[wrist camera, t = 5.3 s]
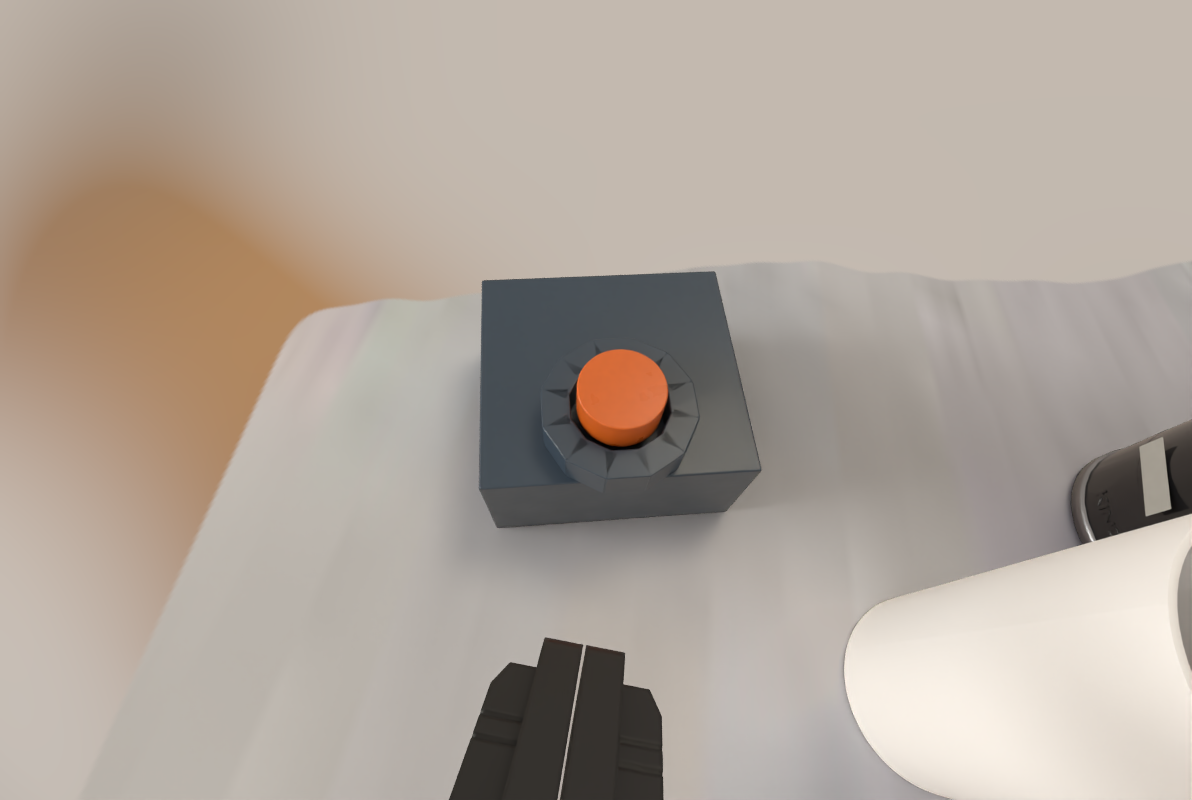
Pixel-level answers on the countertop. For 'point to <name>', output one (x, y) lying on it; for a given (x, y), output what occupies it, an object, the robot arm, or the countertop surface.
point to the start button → (621, 397)
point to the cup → (1038, 675)
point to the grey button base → (549, 392)
